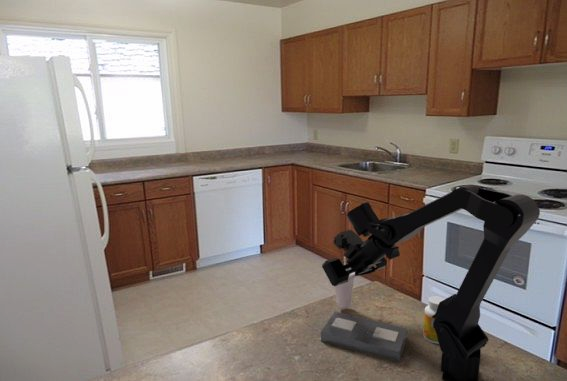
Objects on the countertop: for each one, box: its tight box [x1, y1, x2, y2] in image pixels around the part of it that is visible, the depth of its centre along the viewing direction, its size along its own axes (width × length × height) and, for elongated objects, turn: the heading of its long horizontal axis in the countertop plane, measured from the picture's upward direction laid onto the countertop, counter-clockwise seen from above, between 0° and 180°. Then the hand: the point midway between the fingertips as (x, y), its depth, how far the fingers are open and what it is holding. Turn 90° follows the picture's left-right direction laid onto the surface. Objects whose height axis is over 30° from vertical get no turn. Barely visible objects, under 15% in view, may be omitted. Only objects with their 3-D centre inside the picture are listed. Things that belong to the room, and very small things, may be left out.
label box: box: [320, 311, 408, 363], centre depth 89 cm, size 18×10×3 cm, turn 63°
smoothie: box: [333, 256, 356, 309], centre depth 101 cm, size 6×6×14 cm
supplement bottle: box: [422, 295, 446, 345], centre depth 89 cm, size 5×5×10 cm
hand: (339, 278), depth 102 cm, fingers closed on smoothie, 6 cm apart
